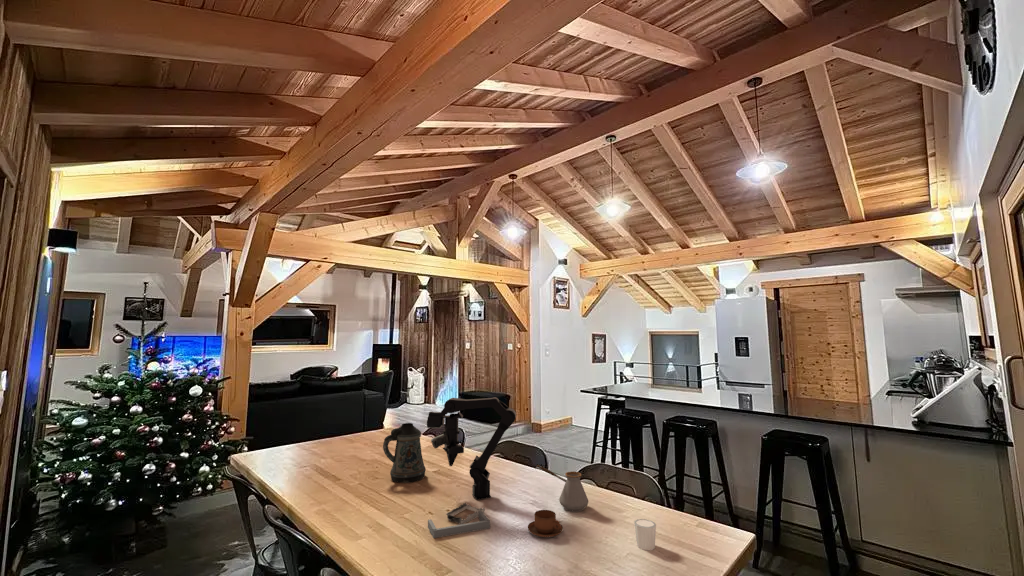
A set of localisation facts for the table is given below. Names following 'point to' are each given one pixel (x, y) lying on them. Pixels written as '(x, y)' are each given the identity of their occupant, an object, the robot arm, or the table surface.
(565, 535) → the table surface
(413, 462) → the beer stein
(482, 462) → the robot arm
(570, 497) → the grey coffee pot
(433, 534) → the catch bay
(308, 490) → the table surface
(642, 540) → the shot glass
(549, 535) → the cup and saucer
